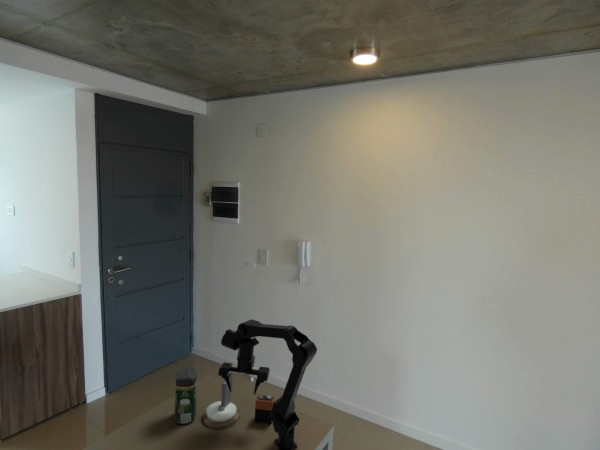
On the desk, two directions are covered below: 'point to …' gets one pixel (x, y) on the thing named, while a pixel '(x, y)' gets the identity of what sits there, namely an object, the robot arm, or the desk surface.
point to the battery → (263, 409)
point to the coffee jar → (185, 396)
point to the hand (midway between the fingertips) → (242, 392)
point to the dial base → (220, 424)
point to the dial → (222, 407)
